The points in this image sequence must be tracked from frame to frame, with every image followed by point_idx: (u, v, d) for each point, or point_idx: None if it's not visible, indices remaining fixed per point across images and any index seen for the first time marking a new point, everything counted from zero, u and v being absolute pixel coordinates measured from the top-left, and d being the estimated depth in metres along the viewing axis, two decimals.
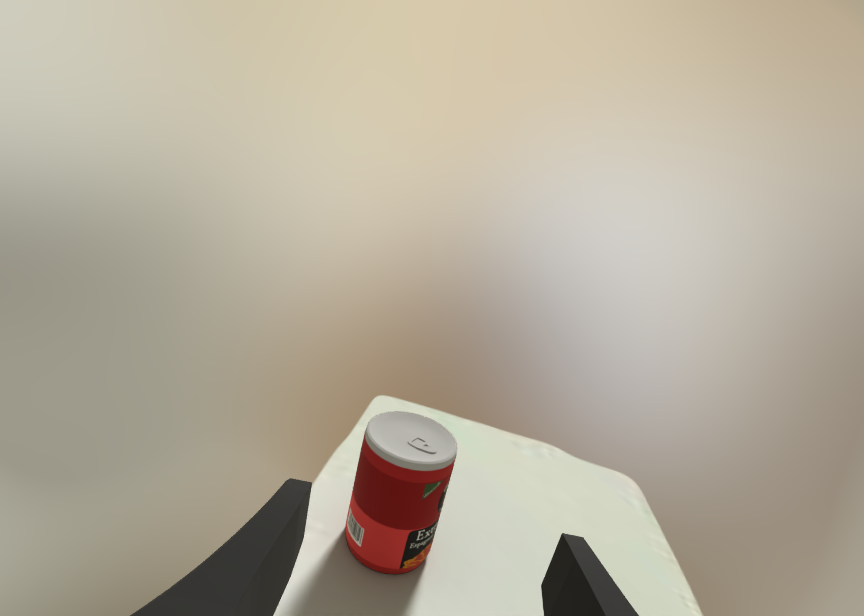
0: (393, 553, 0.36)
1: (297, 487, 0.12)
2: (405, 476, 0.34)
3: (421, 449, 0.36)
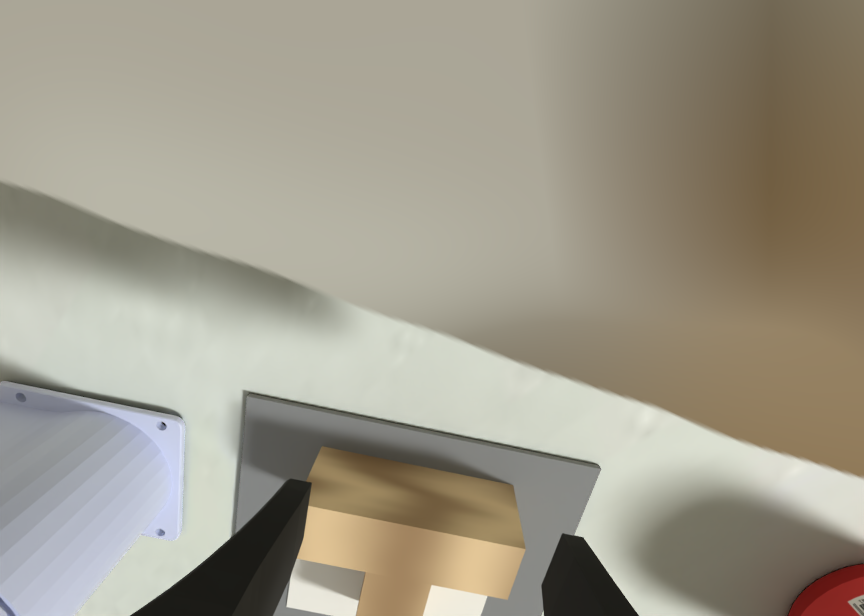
0: None
1: (297, 487, 0.12)
2: None
3: None
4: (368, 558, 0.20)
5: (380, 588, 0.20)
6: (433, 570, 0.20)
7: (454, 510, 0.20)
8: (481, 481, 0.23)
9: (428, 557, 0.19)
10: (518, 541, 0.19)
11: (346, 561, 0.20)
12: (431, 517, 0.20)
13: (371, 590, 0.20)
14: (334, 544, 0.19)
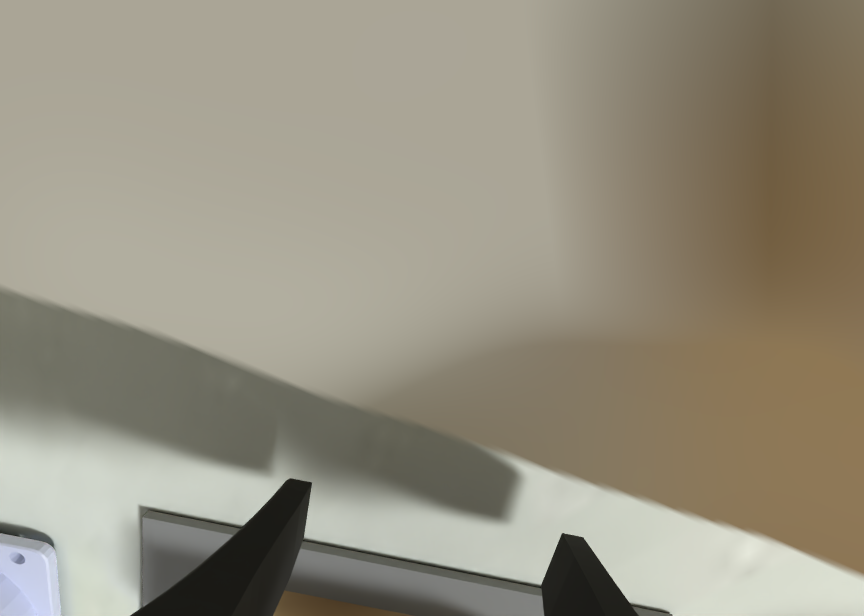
0: None
1: (297, 487, 0.12)
2: None
3: None
4: None
5: None
6: None
7: None
8: None
9: None
10: None
11: None
12: None
13: None
14: None
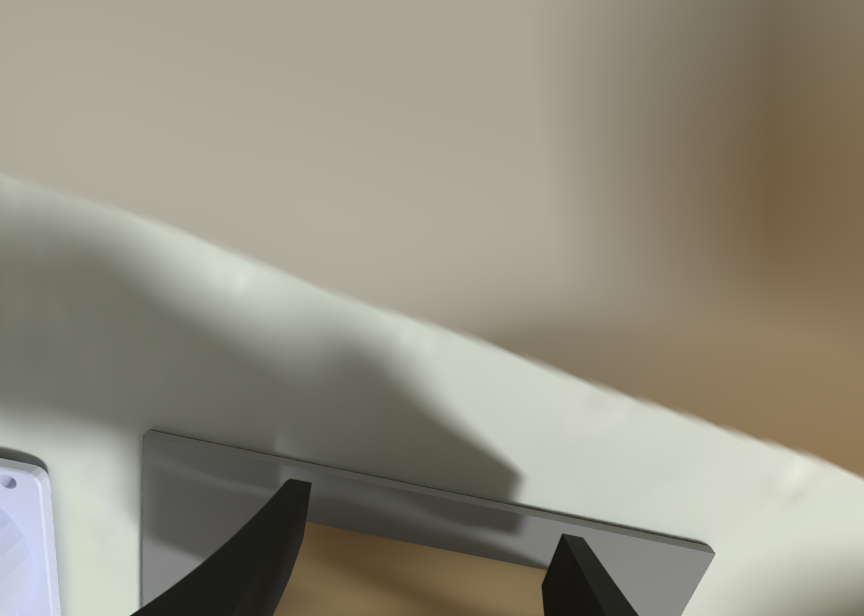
0: None
1: (297, 487, 0.12)
2: None
3: None
4: None
5: None
6: None
7: None
8: (522, 570, 0.14)
9: None
10: None
11: None
12: None
13: None
14: None
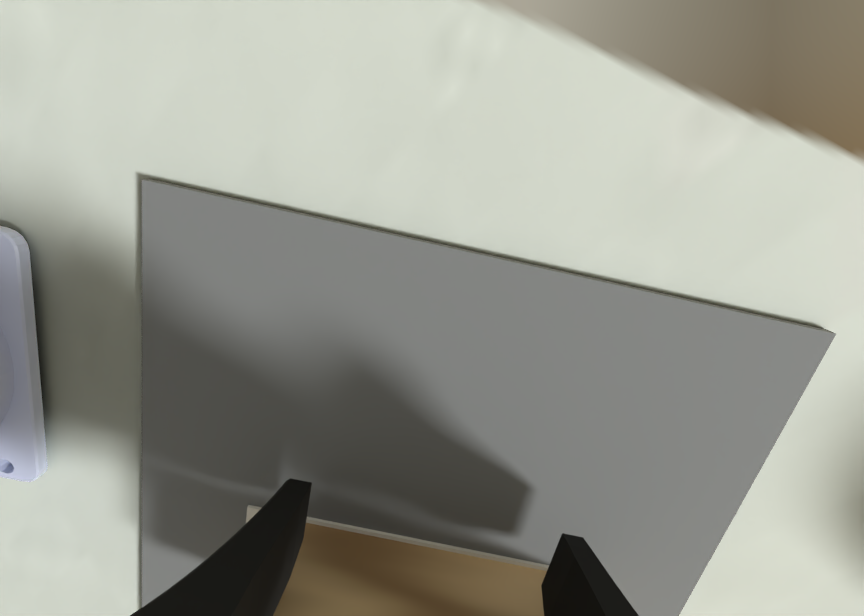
0: None
1: (297, 487, 0.12)
2: None
3: None
4: None
5: None
6: None
7: None
8: (528, 572, 0.14)
9: None
10: None
11: None
12: None
13: None
14: None
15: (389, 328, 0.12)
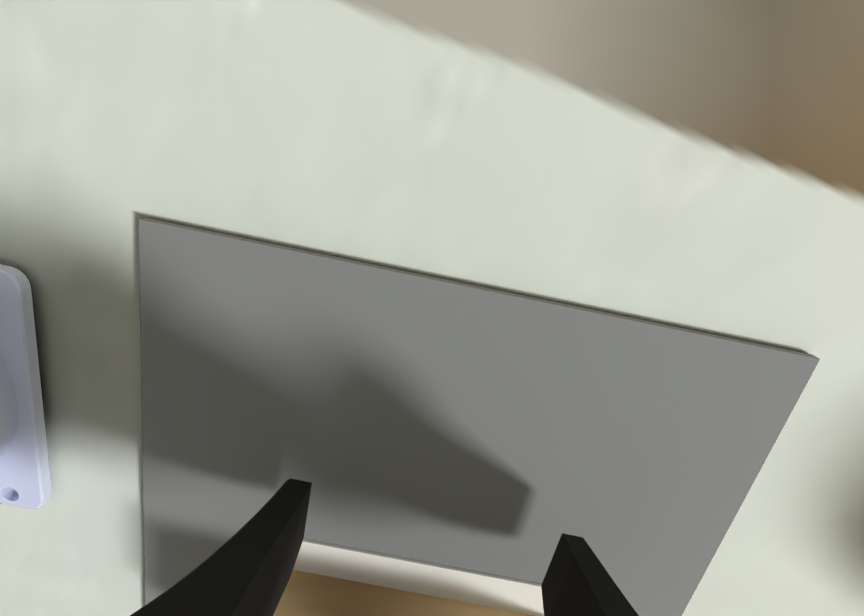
0: None
1: (297, 487, 0.12)
2: None
3: None
4: None
5: None
6: None
7: None
8: None
9: None
10: None
11: None
12: None
13: None
14: None
15: (382, 357, 0.12)
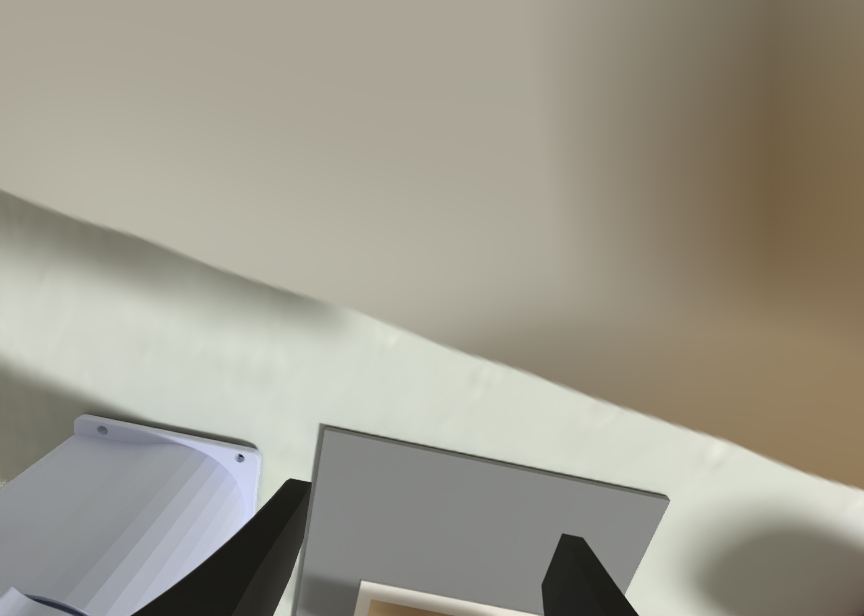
0: None
1: (297, 487, 0.12)
2: None
3: None
4: None
5: None
6: None
7: None
8: None
9: None
10: None
11: None
12: None
13: None
14: None
15: (444, 495, 0.23)
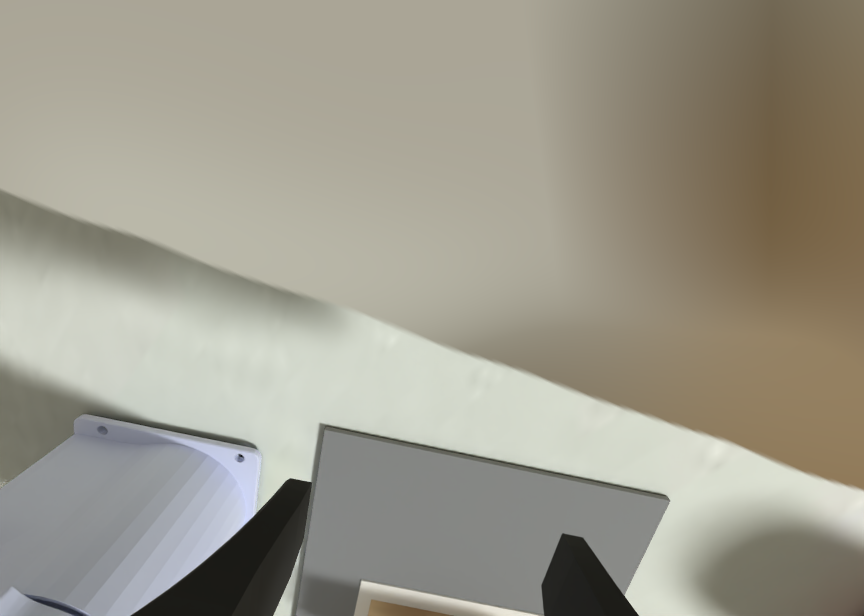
0: None
1: (297, 487, 0.12)
2: None
3: None
4: None
5: None
6: None
7: None
8: None
9: None
10: None
11: None
12: None
13: None
14: None
15: (444, 495, 0.23)
